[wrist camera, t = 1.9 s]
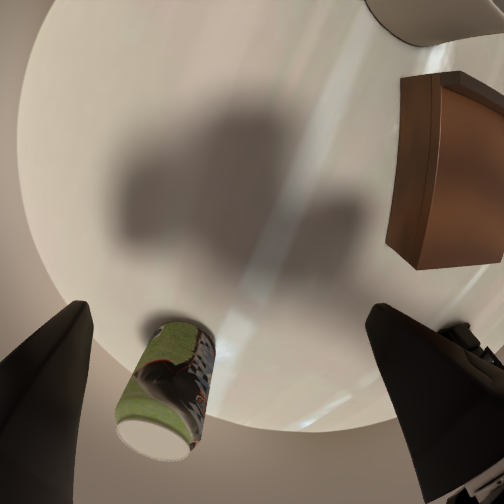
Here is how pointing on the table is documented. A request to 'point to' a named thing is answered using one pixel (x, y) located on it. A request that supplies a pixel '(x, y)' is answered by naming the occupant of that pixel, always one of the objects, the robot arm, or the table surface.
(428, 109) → the wooden riser stand
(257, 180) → the table surface
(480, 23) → the mug
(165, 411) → the beverage can
